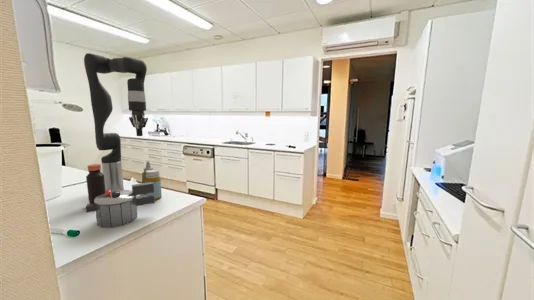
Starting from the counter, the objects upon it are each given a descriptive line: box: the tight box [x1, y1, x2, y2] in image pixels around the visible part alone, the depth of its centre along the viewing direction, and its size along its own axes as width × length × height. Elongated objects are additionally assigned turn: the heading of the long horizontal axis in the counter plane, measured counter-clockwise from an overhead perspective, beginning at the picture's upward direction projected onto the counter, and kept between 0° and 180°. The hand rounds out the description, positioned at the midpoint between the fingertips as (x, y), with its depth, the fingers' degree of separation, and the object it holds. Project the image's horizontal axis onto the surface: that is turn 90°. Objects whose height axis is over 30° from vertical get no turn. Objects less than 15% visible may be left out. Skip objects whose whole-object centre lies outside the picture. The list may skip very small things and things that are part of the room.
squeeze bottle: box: [141, 161, 154, 183], centre depth 128 cm, size 8×8×18 cm
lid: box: [94, 182, 154, 206], centre depth 97 cm, size 21×15×5 cm
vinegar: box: [85, 163, 106, 204], centre depth 110 cm, size 7×7×20 cm
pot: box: [85, 194, 156, 229], centre depth 97 cm, size 24×14×9 cm, turn 119°
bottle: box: [146, 168, 162, 201], centre depth 120 cm, size 7×7×15 cm
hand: (139, 136), depth 115 cm, fingers closed
